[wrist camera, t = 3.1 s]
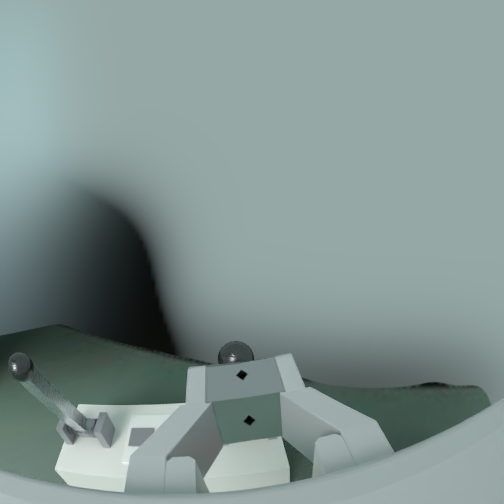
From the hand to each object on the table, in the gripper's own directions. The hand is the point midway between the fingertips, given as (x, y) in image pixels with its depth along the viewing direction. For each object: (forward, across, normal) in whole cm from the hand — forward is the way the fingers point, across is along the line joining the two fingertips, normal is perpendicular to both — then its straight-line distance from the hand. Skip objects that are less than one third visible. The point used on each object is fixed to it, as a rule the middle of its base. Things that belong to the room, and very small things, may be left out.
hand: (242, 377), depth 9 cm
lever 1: (+12, +16, +16) cm, 26 cm away
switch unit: (+12, +8, +22) cm, 26 cm away
